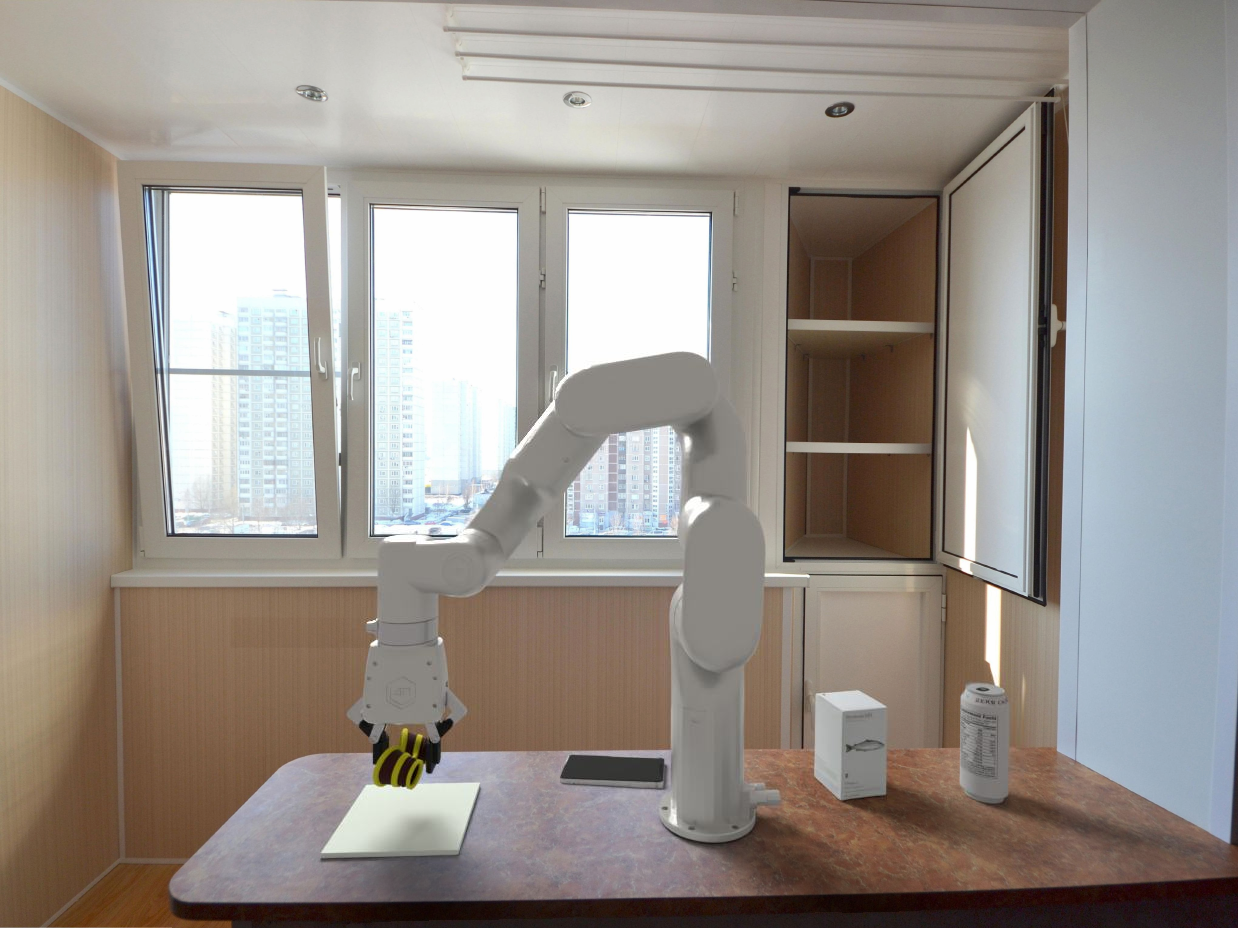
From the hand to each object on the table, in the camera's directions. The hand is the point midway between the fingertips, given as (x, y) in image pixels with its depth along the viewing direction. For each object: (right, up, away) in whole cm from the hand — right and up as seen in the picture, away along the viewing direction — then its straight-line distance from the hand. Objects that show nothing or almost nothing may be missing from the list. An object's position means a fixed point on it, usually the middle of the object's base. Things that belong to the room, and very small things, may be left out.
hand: (407, 767), depth 86 cm
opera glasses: (0, -1, 0) cm, 1 cm away
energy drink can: (+79, -7, +7) cm, 80 cm away
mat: (0, -7, 0) cm, 7 cm away
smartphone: (+27, -7, +13) cm, 31 cm away
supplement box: (+61, -7, +9) cm, 62 cm away
